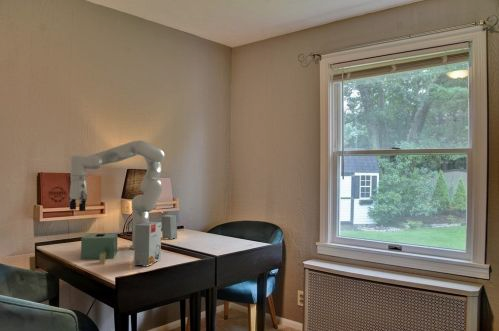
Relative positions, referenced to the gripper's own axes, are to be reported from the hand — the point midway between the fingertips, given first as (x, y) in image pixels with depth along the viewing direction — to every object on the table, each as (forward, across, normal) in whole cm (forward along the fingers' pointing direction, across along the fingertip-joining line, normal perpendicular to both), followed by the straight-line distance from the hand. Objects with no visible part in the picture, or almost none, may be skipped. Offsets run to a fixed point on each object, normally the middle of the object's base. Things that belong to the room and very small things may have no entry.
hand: (77, 210), depth 215 cm
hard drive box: (+25, -43, -14) cm, 52 cm away
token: (+24, -26, 0) cm, 36 cm away
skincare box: (+24, +4, -67) cm, 72 cm away
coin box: (+24, -10, -8) cm, 28 cm away
